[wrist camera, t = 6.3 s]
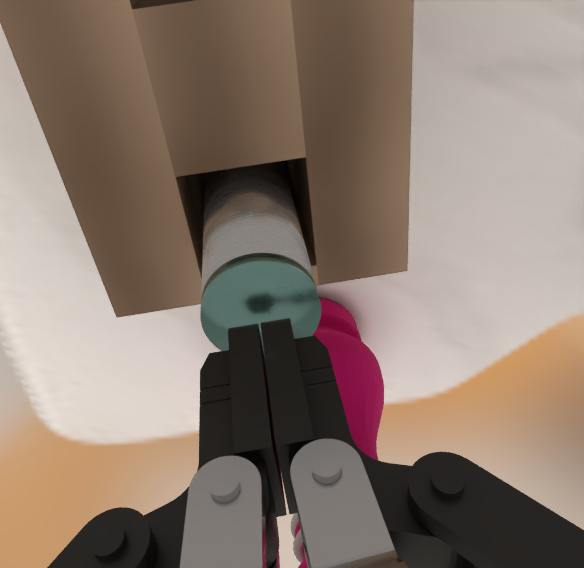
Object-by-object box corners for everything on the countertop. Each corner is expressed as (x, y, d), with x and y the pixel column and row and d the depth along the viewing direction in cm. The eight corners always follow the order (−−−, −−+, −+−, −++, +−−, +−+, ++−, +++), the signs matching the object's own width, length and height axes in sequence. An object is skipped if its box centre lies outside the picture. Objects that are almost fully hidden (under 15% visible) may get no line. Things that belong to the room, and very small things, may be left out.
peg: (282, 141, 20) (316, 256, 13) (292, 216, 22) (325, 350, 15) (196, 153, 20) (188, 276, 13) (213, 228, 21) (213, 368, 15)
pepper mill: (253, 288, 31) (297, 712, 15) (373, 290, 32) (537, 685, 16) (246, 378, 35) (275, 786, 19) (353, 376, 36) (467, 760, 20)
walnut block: (339, -224, 19) (420, -307, 11) (355, 173, 27) (407, 271, 20) (23, -183, 18) (-104, -242, 11) (142, 206, 27) (116, 317, 20)
